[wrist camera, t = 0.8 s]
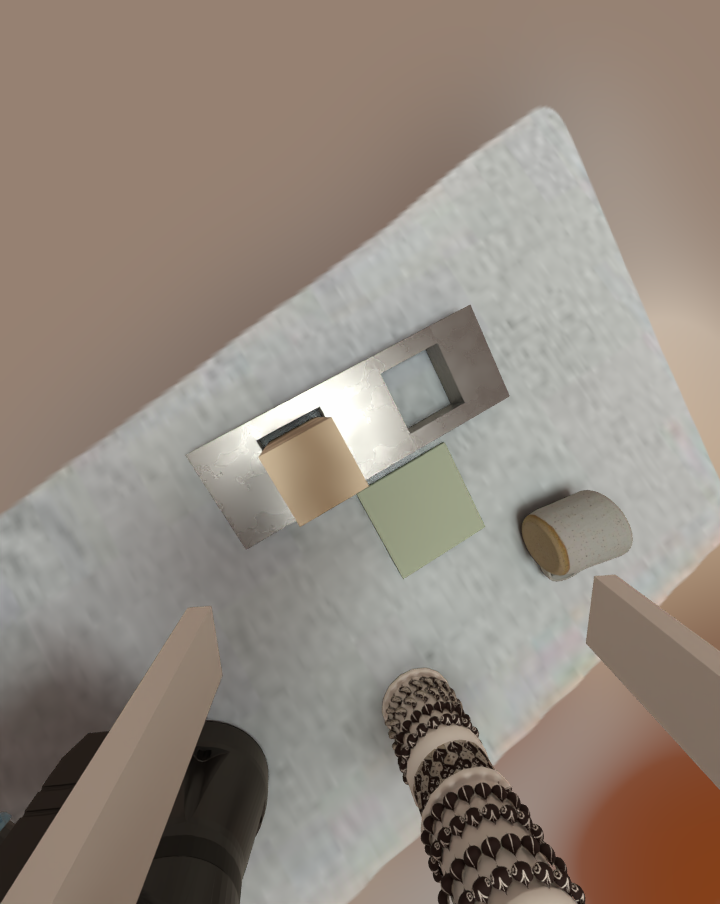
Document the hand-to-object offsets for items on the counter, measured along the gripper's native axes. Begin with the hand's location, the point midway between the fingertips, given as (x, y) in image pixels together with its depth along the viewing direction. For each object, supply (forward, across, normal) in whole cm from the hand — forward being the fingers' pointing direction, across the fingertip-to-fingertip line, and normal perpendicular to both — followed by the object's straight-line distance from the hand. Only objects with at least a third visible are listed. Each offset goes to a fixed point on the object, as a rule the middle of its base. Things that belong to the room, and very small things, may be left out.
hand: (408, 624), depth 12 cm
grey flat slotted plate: (+25, 0, -3) cm, 26 cm away
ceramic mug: (+27, -23, +12) cm, 38 cm away
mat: (+25, -6, +7) cm, 27 cm away
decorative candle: (+22, -5, +29) cm, 37 cm away
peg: (+24, +6, -1) cm, 25 cm away
